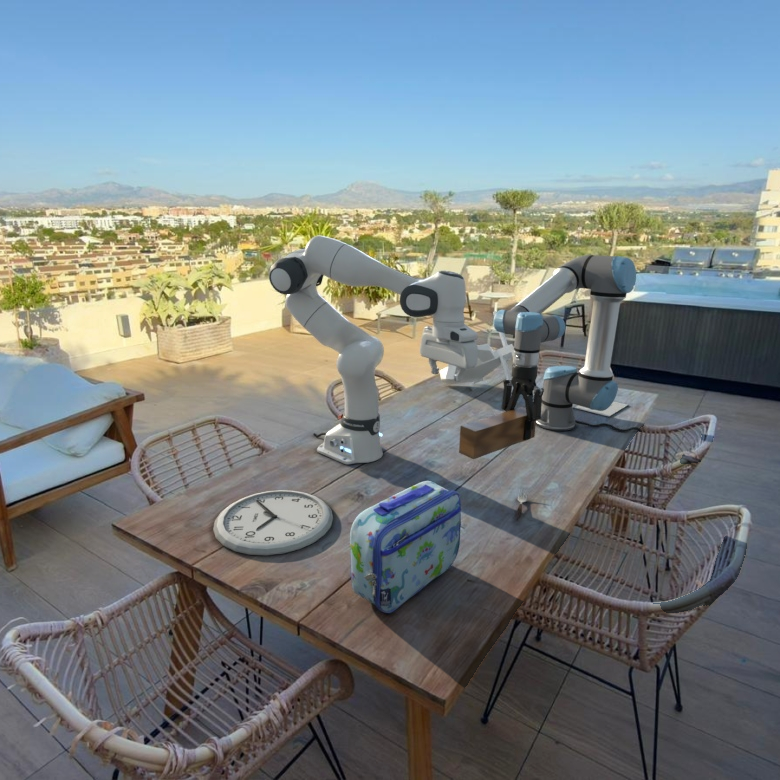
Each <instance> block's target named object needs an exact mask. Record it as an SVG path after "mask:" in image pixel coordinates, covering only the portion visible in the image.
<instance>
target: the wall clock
mask: <svg viewBox="0 0 780 780" xmlns="http://www.w3.org/2000/svg"><path fill="white" fill-rule="evenodd" d="M333 520H334V516H333V511H332V509H331V507H330V506H329V505H328V503H327V502H325V501H324V500H322V499H321V498H320V497H318V496H315V495H313V494H310V493H307V492H303V491H298V490H287V489H286V490H285V489H280V490H279V489H277V490H267V491H262V492H258V493H257V492H256V493H253V494H250V495H247V496H245V497H241V498H240V499H238V500H236V501H234V502H233V503H230V504H229V505H228V506H227V507H225V508H224V509H223V510H222V511H220V512H219V513H218V516H217V517H216V518H215V519H214V523H213V529H212V530H213V533H214V536H215V540H217V541H218V542H219V543H220V544H221V545H222V546H223V547H225V548H227V549H229V550H231V551H233V552H236V553H241V554H244V555H249V556H250V555H251V556H252V555H253V556H273V555H281V554H282V555H283V554H286V553H292V552H294V551H299V550H301V549H304V548H305V547H307V546H310V545H312V544H314V543H316V542H317V541H319V540H320V539H321V538H323V537H324V536H325V535H326V534H327V533H328V532H329V530H330V529H331V527H332V525H333Z"/></svg>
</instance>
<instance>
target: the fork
mask: <svg viewBox="0 0 780 780" xmlns="http://www.w3.org/2000/svg"><path fill="white" fill-rule="evenodd" d="M526 490H527V488H525V489H521V487H519V492H518V495H517V501H518V502H519V505H518V507H517V508H516V509H517V510H516V521H518V520H519V518H520V515H521V513H522V511H523V503H526V502H527V501H528V495H529V490H527V491H526Z"/></svg>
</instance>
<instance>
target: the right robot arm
mask: <svg viewBox="0 0 780 780" xmlns="http://www.w3.org/2000/svg"><path fill="white" fill-rule="evenodd" d="M636 282H637V268H636V265H635V263H634V261H633V260H632V259H631V258H630V257H626V256H619V255H598V254H597V255H595V254H586V255H585V254H584V255H581V256H578V257H575V258H572V259H570V260H568V261H567V262H565V263H563V264H561V265H560V266H559V267H558V268H556V269H554V271H553V272H552V275H551V277H549V278H548V279H547V280H546V281H544V282H543V283H542V284H541V285H540V286H538V287H537V288H536V289H534V290H533V291H532V292H531V293H529V294H528V295H527V296H526V297H524V298H523V299H522V300H521V301H519V302H518V303H517V304H516V305H515V306H513V307H512V308H511V309H499V310H497V311H496V314H495V317H494V316H493V322H492V323H493V328H494V329H495V330H496V332H498V333H499V332H501V333H504V334H505V335H511V336H514V342H513V343H514V345H513V346H514V353H513V359H512V363H513V364H512V365H511V373H510V375H511V378H512V379H507V380H506V379H503V382H502V383H503V391H502V392H503V393H502V401H501V407H500V408H501V410H502V411H504V412H507V411H510V410H514V409H516V406H517V404H518V401H519V398H520V395H521V396H522V399H523V400H524V406H525V407H524V408H526V413H527V420H525V426H524V436H523V440H524V441H523V442H526V441H529V440H531V439H532V438H531V431H532V430H533V429H534V421H536V426H537V427H539V428H542V429H544V430H549V431H556V432H567V431H572V430H574V429H575V428H576V424H578V425H582V426H587V427H590V428H598V427H608V428H611V429H613V430H615V431H617V432H622V433H627V432H631V431H633V430H634V431H635V430H636V431H637V432H640V433H643V430H642V429H641V428H639V427H637V426H632V427H630V428H625V429H624V428H618V427H617V426H614V425H612V424H610V423H607V422H602V423H597V424H593V423H592V424H591V423H588V422H584V421H580V420H577V419H576V418H575V417H576V416H575V413H574V407H573V405H575V406H578V405H579V406H583V407H586V408H590V409H592V410H598V411H604V410H606V409H607V408H609V407H610V405H611V404H612V403H613V401H614V402H615V399H616V397H617V394H618V391H619V386H618V385H619V384H618V382H617V381H615V380H613V379H614V373H613V372H612V371H611V364H612V357H613V349H614V343H615V338H616V331H617V325H618V321H619V320H618V319H619V313H620V307H621V302H623V301H624V300H625V299H626V298H627V294H630V293H632V291H633V290H634V288H635V285H636ZM577 289H586V290H590V292H589V296H590V297H591V299H592V300H593V302H592V310H591V317H590V325H589V332H588V336H587V337H588V338H587V343H586V344H587V345H586V351H585V358H584V364H583V365H584V366H583V367H582V368H580V369H579V370H578V368H577V367H576V366H571V365H555V366H554V365H553V366H550V367H547V368H546V369H545V371H544V375H543V381H542V382H543V383H542V387H539V386H537V378H538V371H539V366H538V365H539V361H540V351H541V350H540V349H541V343H545V342H550V341H551V342H552V341H555V340H557V339H560V338H561V337H562V336H564V334H565V332H566V322H565V321H564V319H563V317H562V316H559V315H552V314H549V315H543V313H544V312H545V311H547V310H548V309H549V308H550V307H551V306H552V305H554V304H555V303H556V302H558V301H559V300H560V299H562V297H563V296H565V295H566V294H571V293H572V292H574V291H575V290H577ZM512 385H513V390H512ZM511 392H512V393H511ZM527 395H528V396H527Z"/></svg>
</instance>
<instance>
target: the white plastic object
mask: <svg viewBox="0 0 780 780" xmlns="http://www.w3.org/2000/svg"><path fill="white" fill-rule="evenodd" d="M496 313H497V311H496V310H495V311H492V315H493V318H494V317H495V314H496ZM498 335H499V338H500V342H501V345H502V347H500V348H498V349H496V350H495V349H493V348H492V347H491V346H490V344H489V343H488V342H487V343H483V344H479V345H478V344H477V347H478V357H477V365H476V366H475V367H474V368H471V369H466V370H465V372H464V373H463V375H462V381H460V382H457V381H454V375H456V374H457V372H458V370H457V366H453V365H450V364H448V366H446V367H444V368H442V369H439V376H440V381H442V383H443V384H444V385H445V386H449V385H458V384H467V383H468V384H469V383H473V384H477V383H480V382H482V381H484V378H485V377H486V376H487V375H489V374H490V373H492V372H494V371H495V370H496V369H497V368H499V367H500V366H502V370H503V373H504V376H505V380H507V379H512V375H511V371H510V369H509V365H508V361H510V360H513V353H514V345H513V343H511V344H508V341H507V337H506V334H505V333H501V332H498ZM512 390H513V385H512ZM511 393H512V392H511ZM527 396H528V395H527Z"/></svg>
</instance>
